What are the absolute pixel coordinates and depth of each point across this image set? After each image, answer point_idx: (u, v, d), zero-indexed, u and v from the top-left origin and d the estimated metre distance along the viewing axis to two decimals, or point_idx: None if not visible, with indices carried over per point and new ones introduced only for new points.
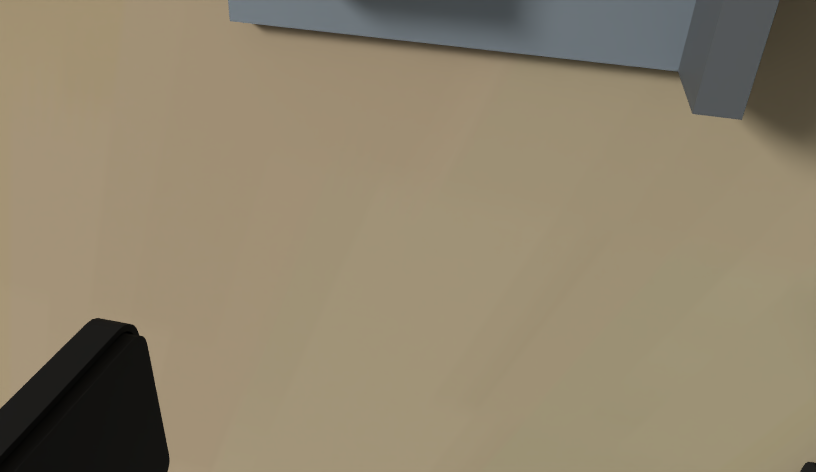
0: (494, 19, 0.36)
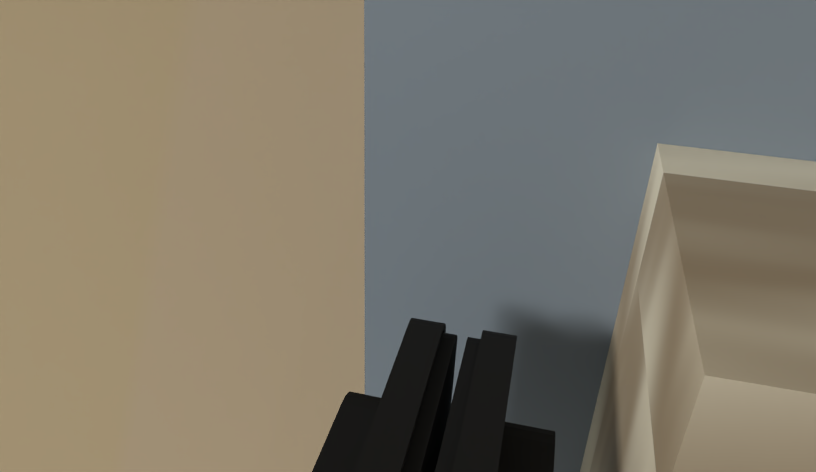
0: None
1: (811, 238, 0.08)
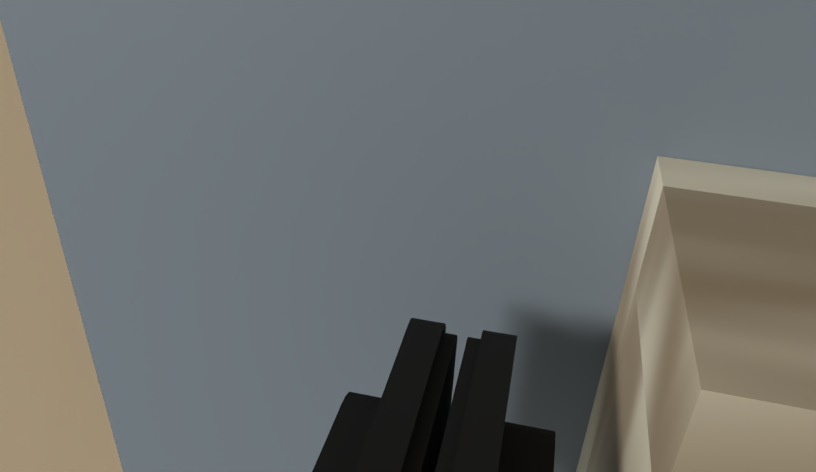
0: None
1: (805, 254, 0.08)
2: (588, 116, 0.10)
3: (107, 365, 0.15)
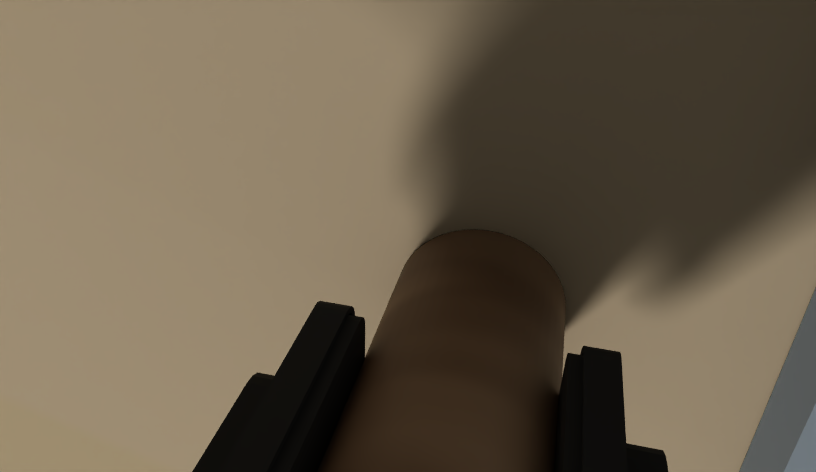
0: None
1: None
2: None
3: None
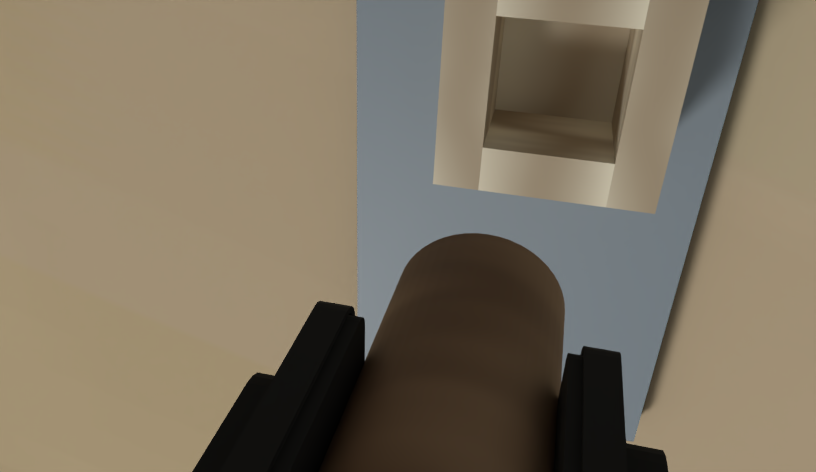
0: (664, 188, 0.29)
1: None
2: None
3: None
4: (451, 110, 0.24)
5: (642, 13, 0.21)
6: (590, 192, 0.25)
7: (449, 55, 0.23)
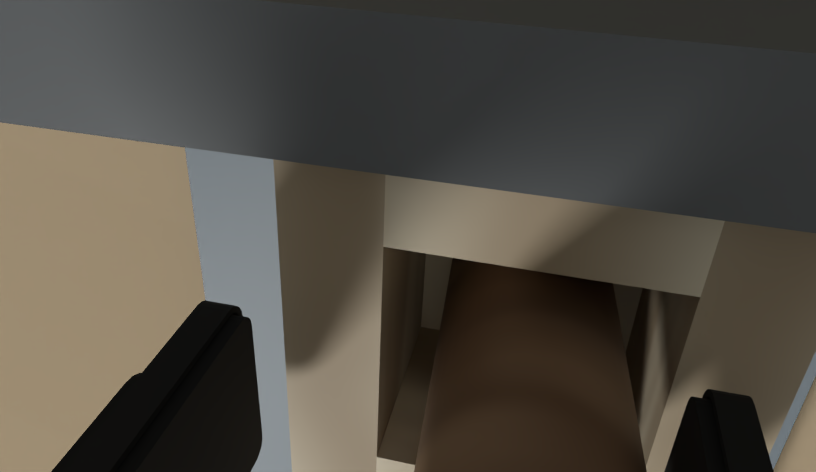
0: None
1: None
2: None
3: None
4: (312, 394, 0.13)
5: (699, 267, 0.10)
6: None
7: (297, 306, 0.12)
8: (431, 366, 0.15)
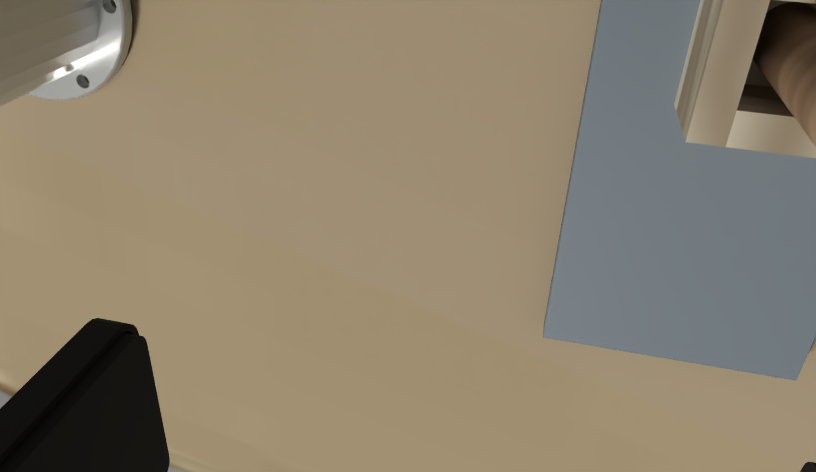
0: None
1: (686, 90, 0.32)
2: (631, 211, 0.39)
3: (717, 362, 0.42)
4: (714, 79, 0.29)
5: None
6: None
7: (722, 32, 0.28)
8: None
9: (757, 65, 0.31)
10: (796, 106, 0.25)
